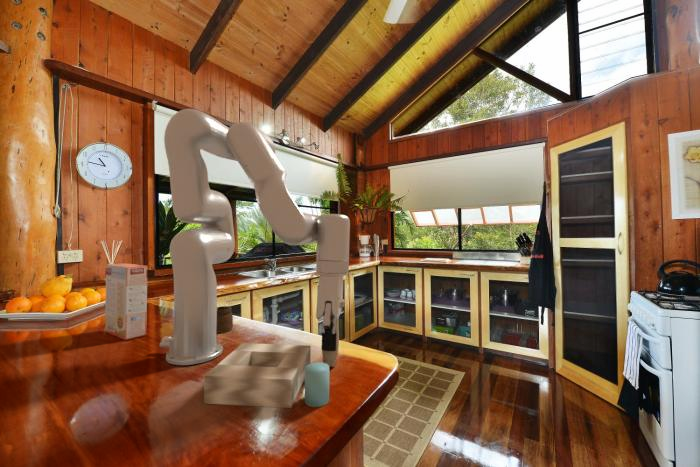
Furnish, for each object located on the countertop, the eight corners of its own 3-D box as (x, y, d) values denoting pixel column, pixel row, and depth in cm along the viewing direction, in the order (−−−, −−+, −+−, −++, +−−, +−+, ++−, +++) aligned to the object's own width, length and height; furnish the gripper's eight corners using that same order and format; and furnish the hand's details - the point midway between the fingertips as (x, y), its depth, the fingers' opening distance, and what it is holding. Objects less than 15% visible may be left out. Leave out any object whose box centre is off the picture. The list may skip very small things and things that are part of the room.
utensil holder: (228, 333, 91) (228, 294, 91) (207, 333, 91) (208, 293, 91) (235, 327, 97) (236, 290, 97) (216, 327, 97) (216, 290, 97)
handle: (334, 371, 65) (336, 303, 65) (312, 364, 69) (314, 299, 69) (347, 364, 69) (348, 299, 69) (325, 357, 73) (326, 296, 73)
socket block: (204, 403, 54) (204, 375, 54) (242, 364, 70) (242, 343, 70) (291, 408, 52) (291, 379, 52) (310, 367, 68) (310, 345, 68)
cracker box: (148, 335, 89) (148, 265, 89) (124, 341, 84) (124, 266, 84) (127, 327, 96) (127, 262, 96) (104, 332, 91) (104, 263, 91)
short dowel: (302, 406, 53) (302, 372, 53) (307, 392, 58) (307, 361, 58) (327, 407, 53) (327, 373, 53) (330, 394, 57) (331, 362, 57)
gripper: (322, 263, 78) (320, 333, 78) (308, 271, 61) (306, 360, 61) (351, 264, 77) (349, 335, 77) (345, 273, 60) (342, 363, 61)
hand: (330, 345), depth 69 cm, fingers closed on handle, 4 cm apart
